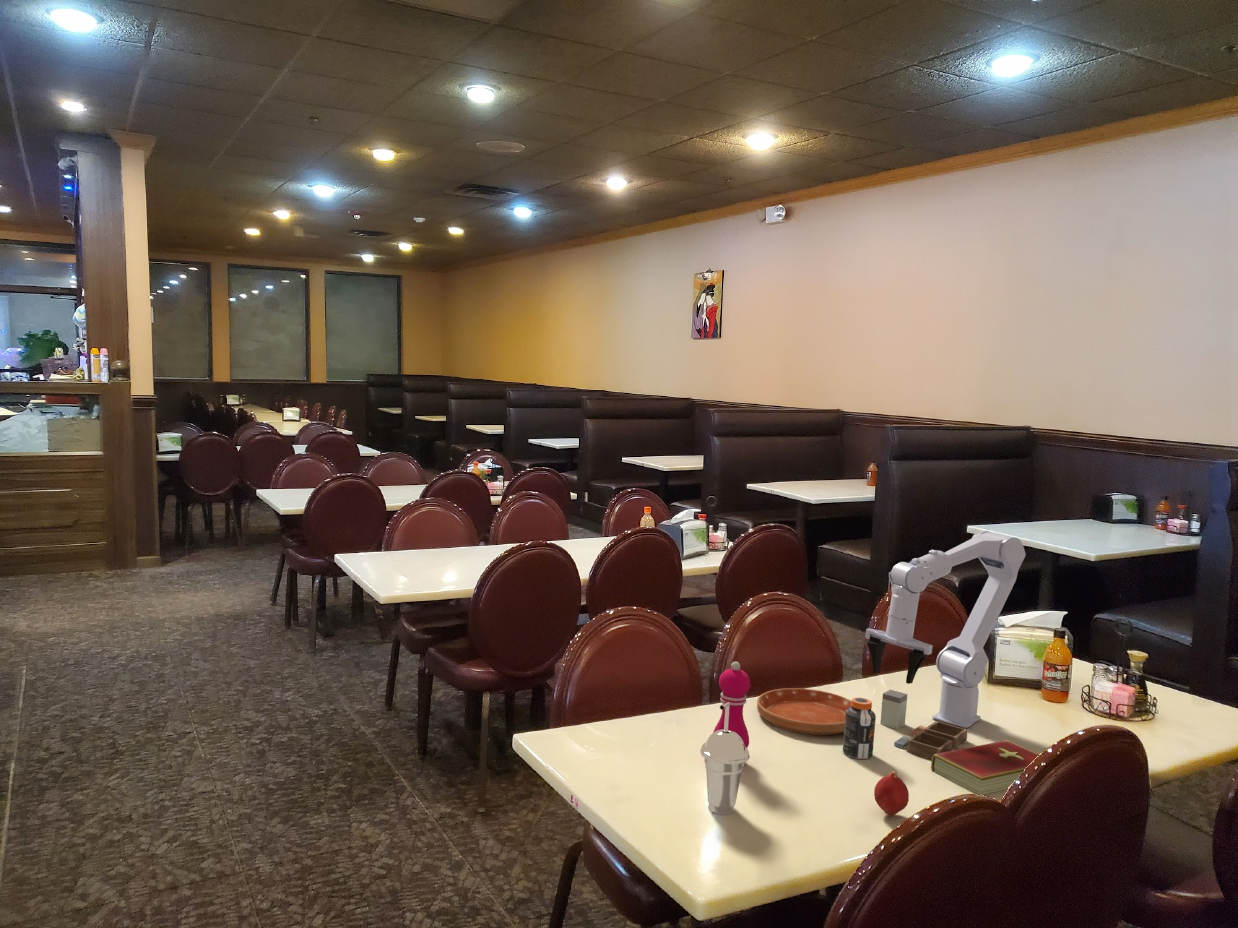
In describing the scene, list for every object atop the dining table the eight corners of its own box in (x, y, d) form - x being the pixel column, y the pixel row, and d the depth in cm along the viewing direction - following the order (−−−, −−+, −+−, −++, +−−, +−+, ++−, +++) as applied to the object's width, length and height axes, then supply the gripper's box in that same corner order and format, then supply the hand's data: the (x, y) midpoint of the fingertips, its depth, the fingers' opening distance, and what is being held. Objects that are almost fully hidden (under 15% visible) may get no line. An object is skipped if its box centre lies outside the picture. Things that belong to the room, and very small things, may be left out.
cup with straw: (755, 810, 156) (763, 698, 154) (723, 826, 149) (730, 709, 148) (717, 792, 162) (724, 684, 160) (684, 807, 155) (691, 694, 154)
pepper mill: (750, 757, 178) (757, 659, 176) (743, 772, 171) (750, 669, 169) (715, 751, 180) (721, 653, 178) (706, 764, 173) (713, 663, 172)
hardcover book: (930, 772, 177) (932, 751, 176) (1003, 757, 187) (1005, 737, 186) (980, 798, 166) (982, 776, 166) (1055, 781, 176) (1057, 760, 176)
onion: (867, 806, 159) (871, 763, 159) (899, 807, 160) (902, 763, 159) (879, 822, 153) (883, 777, 153) (912, 823, 154) (916, 778, 153)
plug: (887, 719, 204) (890, 689, 203) (904, 724, 201) (907, 694, 201) (880, 723, 201) (882, 693, 200) (897, 728, 198) (900, 698, 198)
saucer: (758, 734, 191) (759, 717, 191) (754, 698, 214) (755, 683, 213) (868, 745, 188) (869, 728, 188) (852, 707, 211) (854, 692, 211)
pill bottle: (873, 761, 179) (878, 706, 178) (843, 757, 181) (847, 702, 180) (871, 750, 185) (875, 696, 184) (841, 746, 186) (846, 693, 185)
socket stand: (921, 727, 200) (922, 716, 199) (966, 740, 193) (967, 729, 193) (892, 746, 188) (893, 735, 187) (939, 761, 181) (940, 749, 181)
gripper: (863, 610, 199) (854, 670, 200) (927, 627, 190) (917, 690, 191) (876, 608, 205) (867, 666, 205) (939, 624, 195) (929, 685, 196)
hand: (892, 677), depth 198 cm, fingers open, 7 cm apart
